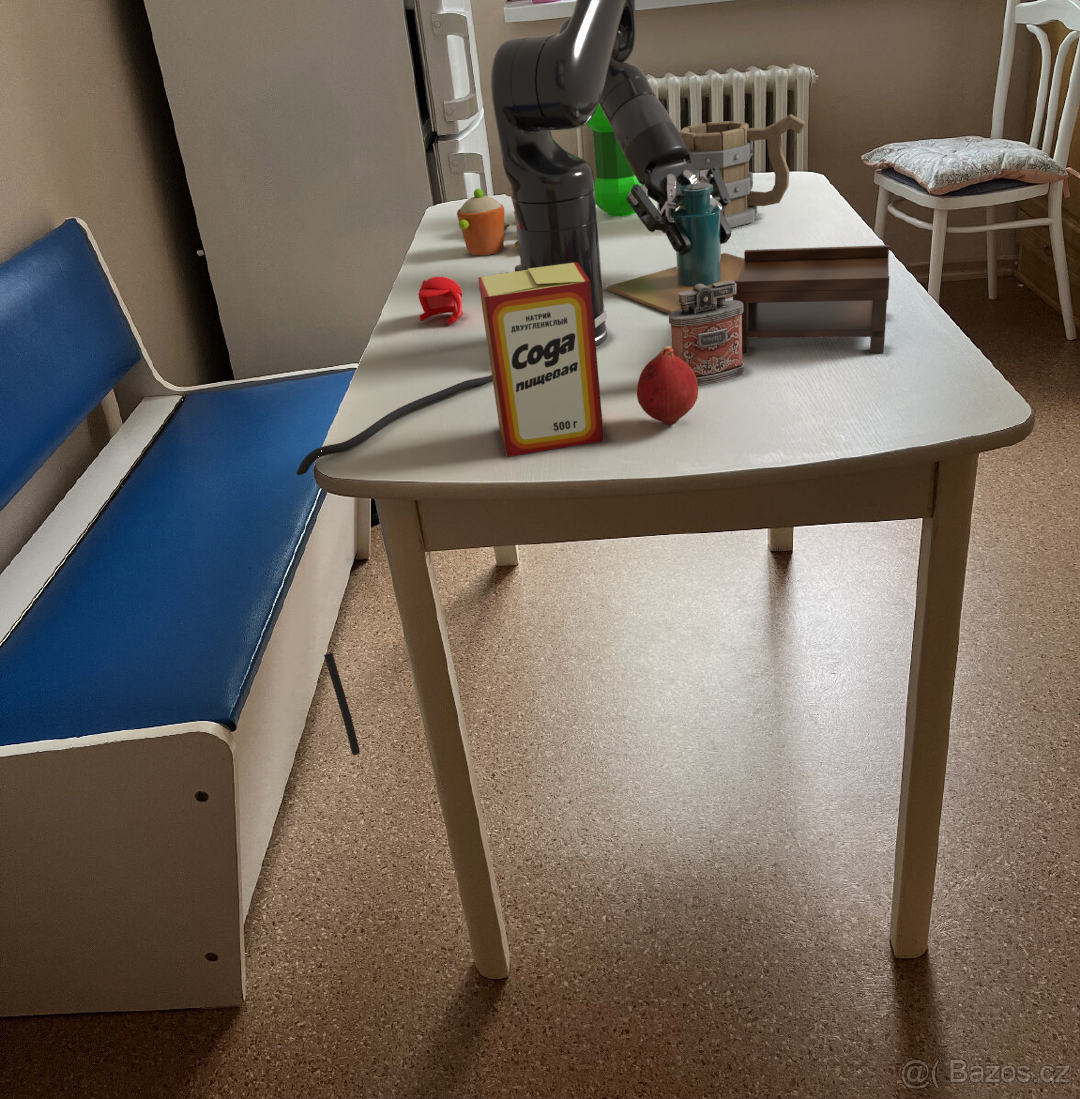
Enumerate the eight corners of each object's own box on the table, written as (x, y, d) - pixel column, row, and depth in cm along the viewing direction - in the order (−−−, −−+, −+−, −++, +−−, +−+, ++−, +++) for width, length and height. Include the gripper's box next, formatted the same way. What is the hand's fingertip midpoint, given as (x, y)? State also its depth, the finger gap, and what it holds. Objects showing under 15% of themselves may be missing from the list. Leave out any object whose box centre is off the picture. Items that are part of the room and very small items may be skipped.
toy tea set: (561, 252, 159) (555, 187, 154) (461, 264, 159) (452, 200, 154) (553, 213, 181) (547, 155, 176) (466, 223, 182) (458, 166, 177)
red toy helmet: (425, 313, 140) (417, 269, 137) (468, 309, 139) (461, 265, 136) (416, 333, 133) (407, 287, 130) (461, 329, 133) (454, 283, 129)
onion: (651, 442, 98) (646, 362, 94) (631, 420, 103) (625, 343, 99) (708, 429, 99) (706, 350, 95) (685, 408, 104) (682, 331, 100)
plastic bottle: (586, 211, 180) (572, 54, 167) (644, 202, 181) (635, 45, 168) (599, 224, 171) (585, 59, 158) (660, 214, 172) (652, 49, 159)
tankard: (668, 232, 162) (664, 131, 154) (683, 211, 172) (679, 115, 164) (799, 228, 156) (801, 122, 148) (806, 207, 166) (808, 107, 158)
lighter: (679, 390, 108) (675, 297, 103) (666, 379, 110) (662, 288, 105) (749, 374, 109) (749, 281, 104) (735, 364, 112) (734, 273, 107)
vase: (718, 285, 134) (716, 190, 128) (674, 286, 136) (669, 193, 130) (723, 272, 139) (722, 179, 133) (681, 273, 141) (677, 182, 135)
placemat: (670, 315, 128) (670, 311, 128) (606, 289, 140) (606, 286, 140) (795, 277, 136) (795, 273, 135) (724, 256, 147) (724, 252, 147)
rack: (733, 354, 115) (732, 281, 111) (745, 317, 124) (744, 249, 120) (884, 353, 110) (889, 277, 106) (884, 315, 120) (889, 244, 116)
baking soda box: (507, 456, 99) (484, 293, 90) (499, 429, 104) (477, 273, 96) (604, 440, 99) (589, 276, 91) (591, 414, 105) (577, 258, 97)
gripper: (613, 131, 131) (672, 241, 128) (704, 110, 136) (763, 216, 133) (594, 169, 138) (650, 275, 135) (682, 148, 143) (738, 249, 140)
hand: (706, 245), depth 134 cm, fingers closed on vase, 5 cm apart
